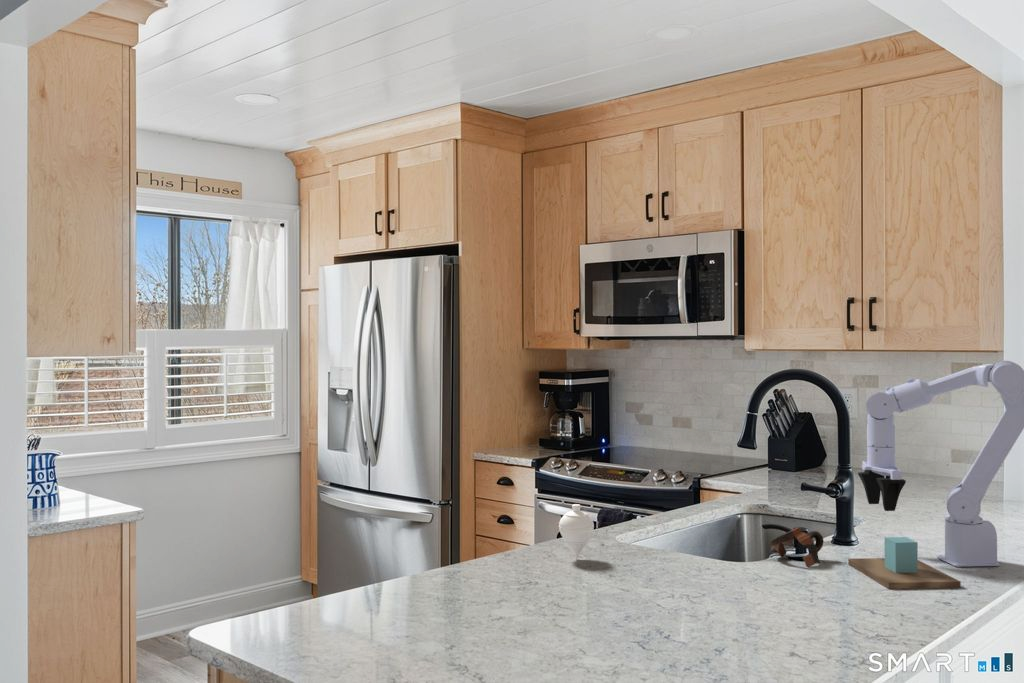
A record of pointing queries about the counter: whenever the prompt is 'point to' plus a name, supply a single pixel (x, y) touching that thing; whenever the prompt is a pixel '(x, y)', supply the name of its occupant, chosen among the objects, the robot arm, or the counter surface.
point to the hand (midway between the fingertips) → (881, 507)
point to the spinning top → (576, 529)
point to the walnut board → (904, 575)
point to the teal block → (901, 554)
